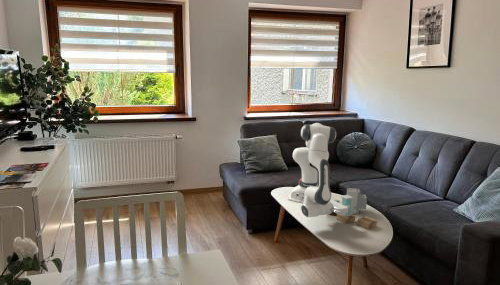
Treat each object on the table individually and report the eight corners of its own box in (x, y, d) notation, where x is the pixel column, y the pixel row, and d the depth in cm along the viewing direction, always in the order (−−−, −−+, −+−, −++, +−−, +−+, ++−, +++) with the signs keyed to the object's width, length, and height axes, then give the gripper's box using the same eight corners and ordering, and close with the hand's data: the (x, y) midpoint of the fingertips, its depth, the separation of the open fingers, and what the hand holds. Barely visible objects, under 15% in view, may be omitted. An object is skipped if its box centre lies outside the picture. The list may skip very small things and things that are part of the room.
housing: (345, 216, 229) (346, 198, 227) (340, 213, 234) (341, 195, 231) (351, 215, 231) (353, 197, 229) (346, 212, 236) (347, 194, 233)
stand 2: (367, 229, 221) (368, 223, 220) (357, 224, 227) (357, 218, 226) (376, 226, 225) (376, 220, 224) (365, 222, 231) (366, 216, 231)
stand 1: (344, 224, 228) (345, 218, 227) (336, 219, 235) (336, 213, 234) (354, 221, 232) (355, 215, 231) (346, 217, 239) (346, 211, 238)
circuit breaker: (368, 214, 243) (370, 193, 240) (345, 212, 246) (347, 191, 243) (367, 210, 250) (368, 189, 247) (345, 208, 253) (346, 188, 250)
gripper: (337, 207, 214) (355, 204, 220) (316, 197, 232) (333, 194, 238) (336, 218, 215) (355, 214, 221) (315, 206, 233) (333, 203, 239)
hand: (343, 203), depth 230 cm, fingers open, 8 cm apart
